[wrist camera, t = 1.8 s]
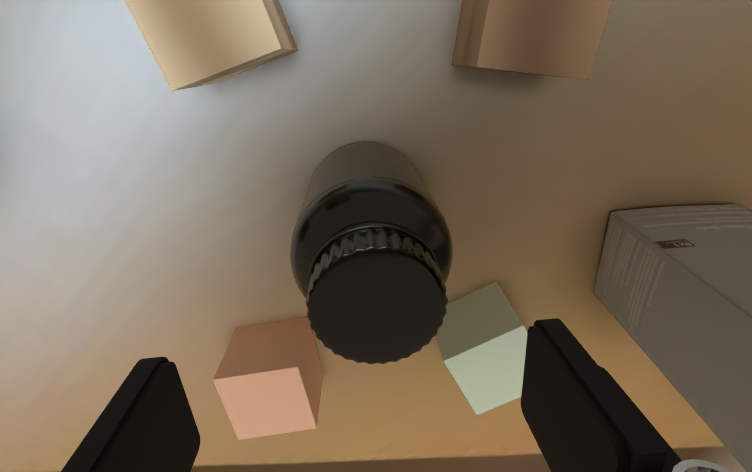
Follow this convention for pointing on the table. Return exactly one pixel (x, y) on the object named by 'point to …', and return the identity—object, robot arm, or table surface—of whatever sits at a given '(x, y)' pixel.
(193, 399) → the table surface
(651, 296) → the skincare box
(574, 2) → the walnut cube
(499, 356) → the sage painted cube
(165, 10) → the maple cube
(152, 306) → the table surface
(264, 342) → the terracotta painted cube
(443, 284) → the supplement bottle
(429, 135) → the table surface
